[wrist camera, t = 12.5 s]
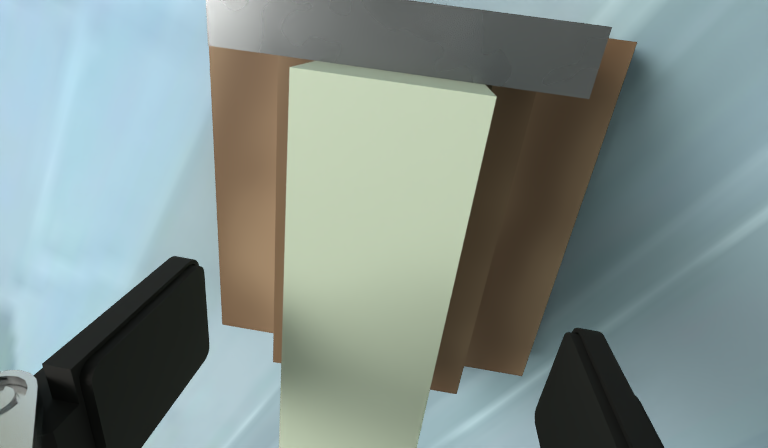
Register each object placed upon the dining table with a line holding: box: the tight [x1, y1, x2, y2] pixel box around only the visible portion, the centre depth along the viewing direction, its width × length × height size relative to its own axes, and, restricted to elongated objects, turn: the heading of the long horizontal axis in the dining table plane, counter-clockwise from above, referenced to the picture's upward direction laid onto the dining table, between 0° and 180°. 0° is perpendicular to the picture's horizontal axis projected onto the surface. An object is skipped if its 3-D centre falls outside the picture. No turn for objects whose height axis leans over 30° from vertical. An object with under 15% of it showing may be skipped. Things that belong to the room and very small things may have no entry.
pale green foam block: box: [279, 61, 497, 448], centre depth 15 cm, size 4×13×9 cm, turn 173°
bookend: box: [206, 0, 612, 99], centre depth 13 cm, size 9×2×7 cm, turn 83°
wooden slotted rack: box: [209, 38, 637, 394], centre depth 19 cm, size 16×16×4 cm
